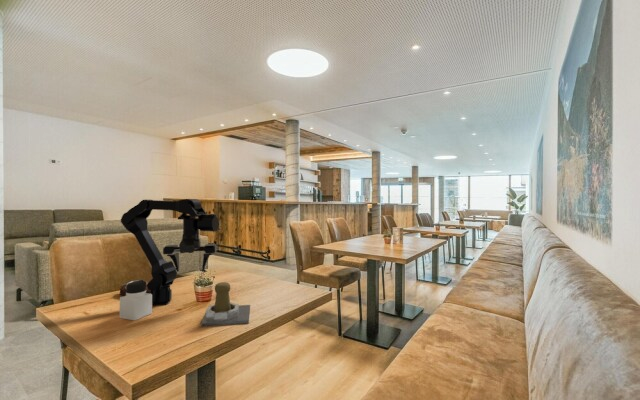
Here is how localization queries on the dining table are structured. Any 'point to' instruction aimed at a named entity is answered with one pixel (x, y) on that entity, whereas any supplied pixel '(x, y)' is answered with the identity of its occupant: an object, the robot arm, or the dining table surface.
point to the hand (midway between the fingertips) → (190, 271)
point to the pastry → (123, 289)
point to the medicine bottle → (135, 301)
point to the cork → (222, 297)
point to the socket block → (227, 315)
